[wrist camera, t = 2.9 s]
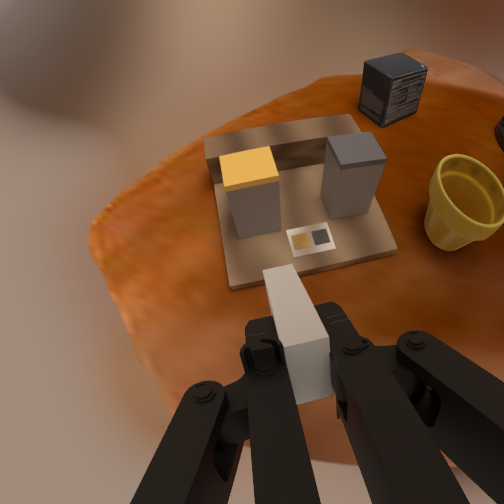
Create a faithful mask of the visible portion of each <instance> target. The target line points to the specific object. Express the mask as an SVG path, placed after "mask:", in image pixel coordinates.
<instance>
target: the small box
mask: <svg viewBox="0 0 504 504" xmlns="http://www.w3.org/2000/svg"><path fill="white" fill-rule="evenodd" d="M427 70H428V67H426V66H424V65H423V64H421V63H419V62H418V61H416V60H414V59H413V58H411V57H409V56H407V55H406V54H404V53H402V52H401V53H397V54H392V55H388V56H384V57H379V58H375V59H371V60H367V61H364V69H363V77H362V85H361V92H360V99H359V106H358V110H359V111H361V112H362V113H363V114H365V115H366V116H367V117H369V118H370V119H371V120H372V121H374V122H375V123H376V124H377V125H379V126H380V127H381V128H383V127H385V126H388V125H390V124H392V123H394V122H396V121H399V120H401V119H403V118H405V117H407V116H410V115H412V114H414V113H416V112H417V108H418V104H419V100H420V96H421V93H422V90H423V86H424V82H425V78H426V75H427Z"/></svg>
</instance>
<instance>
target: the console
mask: <svg viewBox="0 0 504 504" xmlns="http://www.w3.org/2000/svg"><path fill="white" fill-rule="evenodd" d="M353 133H361V131H360V129H359V128H358V126H357V125H356V123H355V121H354V120H353V118H352V117H351V115H350V114H345V115H335V116H327V117H318V118H311V119H303V120H296V121H290V122H283V123H277V124H271V125H266V126H260V127H255V128H249V129H244V130H239V131H234V132H230V133H225V134H220V135H216V136H212V137H207V138H203V140H204V149H205V157H206V162H207V165H208V168H209V171H210V174H211V177H212V180H213V183H214V188H215V195H216V202H217V209H218V215H219V222H220V229H221V235H222V242H223V248H224V254H225V261H226V267H227V273H228V279H229V285H230V288H231V290H232V291H234V290H239V289H244V288H249V287H253V286H258V285H263V284H265V280H264V275H263V270H265V269H270V268H275V267H279V266H284V265H289V264H292V265H293V267H294V269H295V270H296V272H297V274H298V276H299V277H300V276H304V275H309V274H313V273H318V272H322V271H326V270H331V269H335V268H339V267H344V266H348V265H352V264H356V263H360V262H365V261H369V260H373V259H377V258H381V257H385V256H389V255H393V254H395V252H396V251H397V249H398V248H397V245H396V243H395V241H394V238H393V236H392V233H391V231H390V229H389V226H388V224H387V222H386V220H385V217H384V215H383V213H382V211H381V208H380V206H379V204H378V202H377V200H376V198H375V196H374V197H373V200H372V202H371V205H370V208H369V210H368V213H363V214H358V215H353V216H348V217H343V218H338V219H333V220H330V218H329V216H328V213H327V210H326V207H325V205H324V202H323V199H322V197H321V194H320V193H321V185H322V177H323V169H324V161H325V152H326V142H327V137H329V136H337V135H345V134H353ZM267 146H269V147H270V150H271V153H272V156H273V159H274V162H275V165H276V168H277V171H278V174H279V188H280V209H281V230H280V231H275V232H270V233H265V234H260V235H256V236H251V237H246V238H242V239H239V236H238V233H237V229H236V226H235V222H234V219H233V216H232V212H231V209H230V205H229V202H228V198H227V195H226V191H225V188H224V183H223V177H222V171H221V165H220V159H219V156H222V155H227V154H232V153H236V152H241V151H246V150H251V149H256V148H261V147H267Z"/></svg>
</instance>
